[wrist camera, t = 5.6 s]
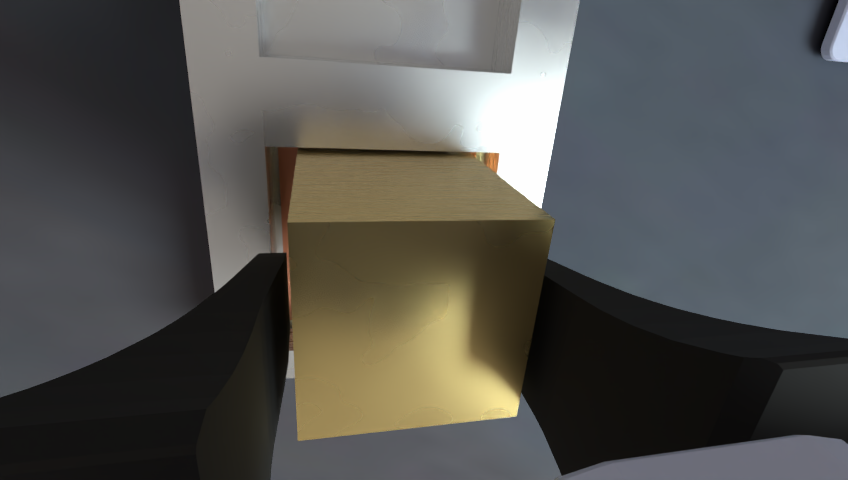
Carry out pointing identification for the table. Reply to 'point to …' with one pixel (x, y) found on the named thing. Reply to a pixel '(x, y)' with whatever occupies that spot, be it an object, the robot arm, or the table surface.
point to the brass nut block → (409, 289)
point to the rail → (362, 97)
